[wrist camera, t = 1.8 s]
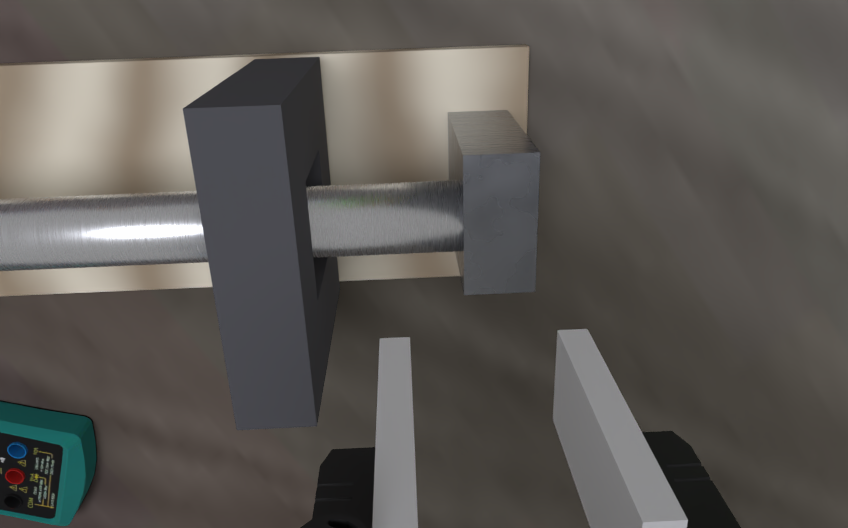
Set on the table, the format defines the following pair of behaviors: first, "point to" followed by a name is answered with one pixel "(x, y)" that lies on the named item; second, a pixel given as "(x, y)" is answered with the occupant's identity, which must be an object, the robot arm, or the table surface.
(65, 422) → the digital multimeter
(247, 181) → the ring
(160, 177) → the board
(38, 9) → the table surface
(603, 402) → the robot arm
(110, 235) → the pipe
